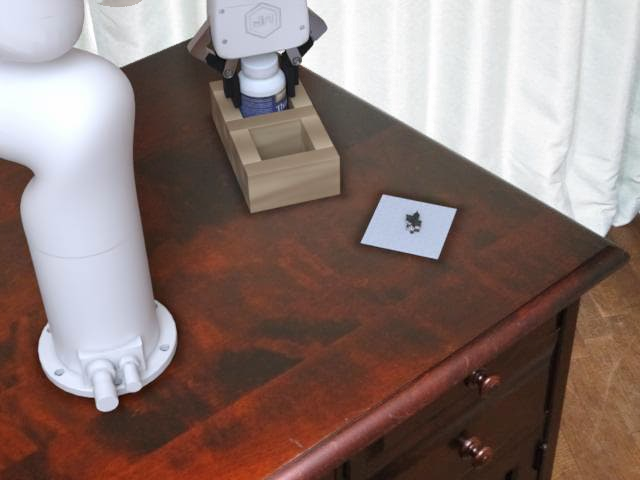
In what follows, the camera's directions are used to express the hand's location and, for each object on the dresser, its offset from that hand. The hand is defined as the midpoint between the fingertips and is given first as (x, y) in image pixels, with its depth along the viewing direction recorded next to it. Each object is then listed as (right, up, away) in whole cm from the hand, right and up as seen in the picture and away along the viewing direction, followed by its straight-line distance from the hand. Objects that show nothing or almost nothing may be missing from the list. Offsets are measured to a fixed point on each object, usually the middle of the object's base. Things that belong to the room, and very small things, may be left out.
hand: (261, 94), depth 126 cm
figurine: (+16, -15, -8) cm, 23 cm away
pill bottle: (0, -4, +4) cm, 5 cm away
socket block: (+1, -7, +1) cm, 7 cm away
